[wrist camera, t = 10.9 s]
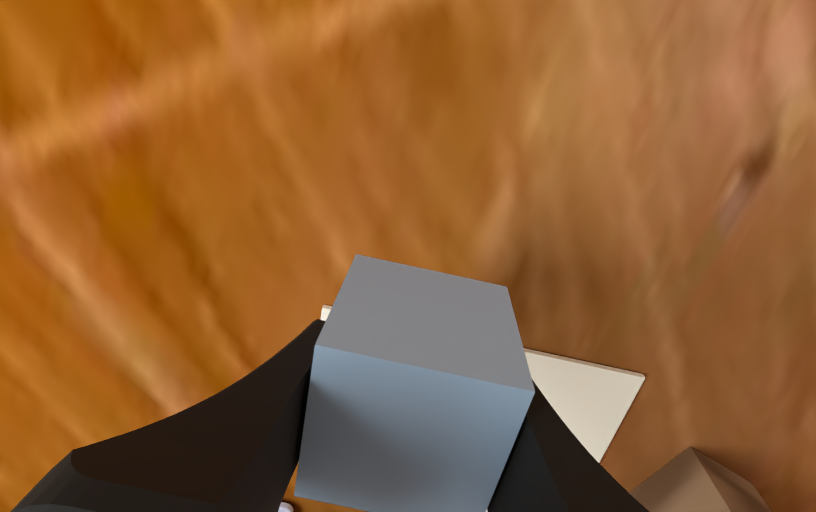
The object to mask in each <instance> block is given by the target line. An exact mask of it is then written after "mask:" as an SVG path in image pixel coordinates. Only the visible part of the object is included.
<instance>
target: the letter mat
mask: <svg viewBox="0 0 816 512" xmlns="http://www.w3.org/2000/svg"><path fill="white" fill-rule="evenodd" d="M331 308H332V306H328V305H323V307H322V313H321V320H324V321H326V319H327V317H328V315H329V313H330V311H331ZM524 352H525V356H526V359H527V363H528V367H529V370H530V374H531V378H532V380H533V381H534V382H535V384H536V385H537V387H538V388H539V389H540V391H541V392H542V394H543V395H544V396H545V398H546V399H547V401H548V402H549V403H550V405H551V406H552V407H553V409H554V410H555V411H556V413H557V414H558V415H559V417H560V418H561V419H562V421H563V422H564V423H565V424H566V426H567V427H568V428H569V429H570V431H571V432H572V433H573V434H574V435H575V437H576V438H577V439H578V440H579V441H580V442H581V444H582V445H583V446H584V447H585V448H586V450H587V451H588V452H589V453H590V454H591V455H592V456H593V457H594V458H595V460H596V461H597V462H598V463H599V462H600V461H601V459H602V457H603V455H604V453H605V451H606V450H607V448H608V446H609V444H610V442H611V440H612V438H613V437H614V435H615V433H616V431H617V429H618V427H619V426H620V424H621V422H622V420H623V418H624V416H625V415H626V413H627V411H628V409H629V407H630V405H631V404H632V402H633V400H634V398H635V396H636V394H637V393H638V391H639V389H640V387H641V385H642V383H643V381H644V380H645V377H644V375H643V374H641V373H636V372H632V371H627V370H622V369H618V368H613V367H609V366H604V365H599V364H595V363H590V362H586V361H581V360H576V359H572V358H567V357H563V356H558V355H553V354H549V353H544V352H540V351H535V350H530V349H526V348H524ZM486 512H488V511H487V510H486Z"/></svg>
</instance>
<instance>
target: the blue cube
mask: <svg viewBox="0 0 816 512" xmlns="http://www.w3.org/2000/svg"><path fill="white" fill-rule="evenodd" d="M534 394H535V389H534V385H533V382H532V378H531V374H530V370H529V367H528V363H527V359H526V356H525V352H524V348H523V344H522V341H521V337H520V333H519V330H518V326H517V322H516V318H515V315H514V311H513V307H512V304H511V300H510V296H509V293H508V289H507V287H506V286H501V285H497V284H492V283H487V282H483V281H478V280H474V279H469V278H464V277H460V276H455V275H450V274H446V273H441V272H437V271H432V270H427V269H423V268H418V267H413V266H409V265H404V264H400V263H395V262H390V261H386V260H381V259H376V258H372V257H367V256H363V255H358V254H356V256H355V258H354V260H353V262H352V264H351V267H350V269H349V271H348V273H347V275H346V278H345V280H344V282H343V284H342V286H341V289H340V291H339V293H338V295H337V297H336V300H335V302H334V304H333V306H332V308H331V311H330V313H329V315H328V317H327V319H326V322H325V324H324V326H323V328H322V330H321V333H320V335H319V337H318V339H317V341H316V344H315V348H314V355H313V363H312V370H311V377H310V384H309V392H308V399H307V406H306V413H305V421H304V428H303V435H302V442H301V449H300V457H299V464H298V471H297V478H296V486H295V493H294V496H297V497H302V498H307V499H311V500H316V501H321V502H326V503H330V504H335V505H340V506H345V507H350V508H354V509H359V510H364V511H369V512H486V510H487V508H488V505H489V503H490V500H491V498H492V495H493V493H494V491H495V488H496V486H497V483H498V481H499V478H500V476H501V474H502V471H503V469H504V466H505V464H506V462H507V459H508V457H509V454H510V452H511V449H512V447H513V445H514V442H515V440H516V437H517V435H518V432H519V430H520V428H521V425H522V423H523V420H524V418H525V415H526V413H527V411H528V408H529V406H530V403H531V401H532V398H533V396H534Z"/></svg>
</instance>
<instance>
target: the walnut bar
mask: <svg viewBox="0 0 816 512" xmlns="http://www.w3.org/2000/svg"><path fill="white" fill-rule="evenodd" d="M629 494H631V495H632V496H633V497H634V498H635V499H636V500H637V501H638V502H639V503H641V504H642V505H643V506H644V507H645V508H646V509H647V510H648V511H649V512H772V511H771V510H770V508H769V507H768V505H767V504H766V503H765V501H764V500H763V498H762V497H761V496H760V494H759V493H758V491H757V490H756V489H755V487H754V486H753V484H752V483H751V482H749V481H747V480H746V479H744V478H742V477H741V476H739V475H737V474H736V473H734V472H732V471H731V470H729V469H727V468H726V467H724V466H722V465H720V464H719V463H717V462H715V461H714V460H712V459H710V458H709V457H707V456H705V455H704V454H702V453H700V452H699V451H697V450H695V449H694V448H692V447H688V448H687V449H686V450H684V451H683V452H682V453H680V454H679V455H678V456H676V457H675V458H674V459H673V460H671V461H670V462H669V463H667V464H666V465H665V466H663V467H662V468H661V469H659V470H658V471H657V472H656V473H654V474H653V475H652V476H650V477H649V478H648V479H646V480H645V481H644V482H642V483H641V484H640V485H639V486H637V487H636V488H635V489H633V490H632V491H631V492H629Z"/></svg>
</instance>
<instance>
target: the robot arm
mask: <svg viewBox="0 0 816 512" xmlns="http://www.w3.org/2000/svg"><path fill="white" fill-rule="evenodd" d="M325 322H326V321H324V320H319V319H317V320H315V321H314V322H312V323H311V324H310V325H309V326H308V327H307V328H306V329H305V330H304V331H303V332H302V333H301V334H299V335H298V336H297V337H296V338H295V339H294V340H293V341H291V342H290V343H289V344H288V345H287V346H285V347H284V348H283V349H282V350H280V351H279V352H278V353H277V354H275V355H274V356H273V357H272V358H270V359H269V360H268V361H266V362H265V363H263V364H262V365H261V366H259V367H258V368H256V369H255V370H254V371H252V372H251V373H249V374H248V375H246V376H245V377H243V378H242V379H240V380H239V381H237V382H236V383H234V384H232V385H231V386H229V387H227V388H226V389H224V390H222V391H220V392H219V393H217V394H215V395H213V396H211V397H210V398H208V399H206V400H204V401H202V402H200V403H198V404H196V405H194V406H192V407H189V408H187V409H185V410H183V411H181V412H179V413H177V414H175V415H172V416H170V417H167V418H165V419H163V420H160V421H158V422H155V423H153V424H150V425H147V426H145V427H142V428H140V429H137V430H134V431H131V432H128V433H126V434H123V435H119V436H116V437H113V438H110V439H107V440H104V441H101V442H97V443H94V444H91V445H88V446H85V447H81V448H78V449H74V450H72V451H71V452H70V453H69V454H68V455H67V456H66V457H65V458H64V459H62V460H61V461H60V462H59V463H58V464H57V465H56V466H55V467H53V468H52V469H51V470H50V471H49V472H48V473H47V474H46V475H45V476H44V477H43V478H42V479H41V480H40V481H39V482H38V484H37V485H36V486H35V487H34V488H33V489H32V490H31V491H30V492H29V493H28V494H27V495H26V496H25V497H24V498H23V499H22V500H21V501H20V502H19V503H18V505H17V506H16V507H15V508H14V509H13V510H12V511H11V512H293V507H292V506H291V505H290V504H288V503H284V502H281V501H282V499H283V496H284V494H285V491H286V489H287V486H288V484H289V481H290V479H291V477H292V475H293V472H294V470H295V468H296V466H297V463H298V461H299V457H300V449H301V442H302V435H303V428H304V421H305V413H306V406H307V399H308V392H309V384H310V377H311V370H312V363H313V355H314V348H315V344H316V341H317V339H318V337H319V335H320V333H321V330H322V328H323V326H324V324H325ZM532 382H533V385H534V389H535V394H534V396H533V398H532V401H531V403H530V406H529V408H528V411H527V413H526V415H525V418H524V420H523V423H522V425H521V428H520V430H519V432H518V435H517V437H516V440H515V442H514V445H513V447H512V449H511V452H510V454H509V457H508V459H507V462H506V464H505V466H504V469H503V471H502V474H501V476H500V478H499V481H498V483H497V486H496V488H495V491H494V493H493V495H492V498H491V500H490V503H489V505H488V508H487V511H488V512H649V511H648V510H647V509H646V508H645V507H644V506H643V505H642V504H641V503H639V502H638V501H637V500H636V499H635V498H634V497H633V496H632V495H631V494H629V493H628V492H627V491H626V490H625V489H624V488H623V487H622V486H621V485H620V484H619V483H618V482H617V481H616V480H615V479H614V478H613V477H612V476H611V475H610V474H609V473H608V472H607V471H606V470H605V469H604V468H603V467H602V466H601V465H600V464H599V463H598V462H597V461H596V460H595V458H594V457H593V456H592V455H591V454H590V453H589V452H588V451H587V450H586V448H585V447H584V446H583V445H582V444H581V442H580V441H579V440H578V439H577V438H576V437H575V435H574V434H573V433H572V432H571V431H570V429H569V428H568V427H567V426H566V424H565V423H564V422H563V421H562V419H561V418H560V417H559V415H558V414H557V413H556V411H555V410H554V409H553V407H552V406H551V405H550V403H549V402H548V401H547V399H546V398H545V396H544V395H543V394H542V392H541V391H540V389H539V388H538V387H537V385H536V384H535V382H534V381H533V380H532Z"/></svg>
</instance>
